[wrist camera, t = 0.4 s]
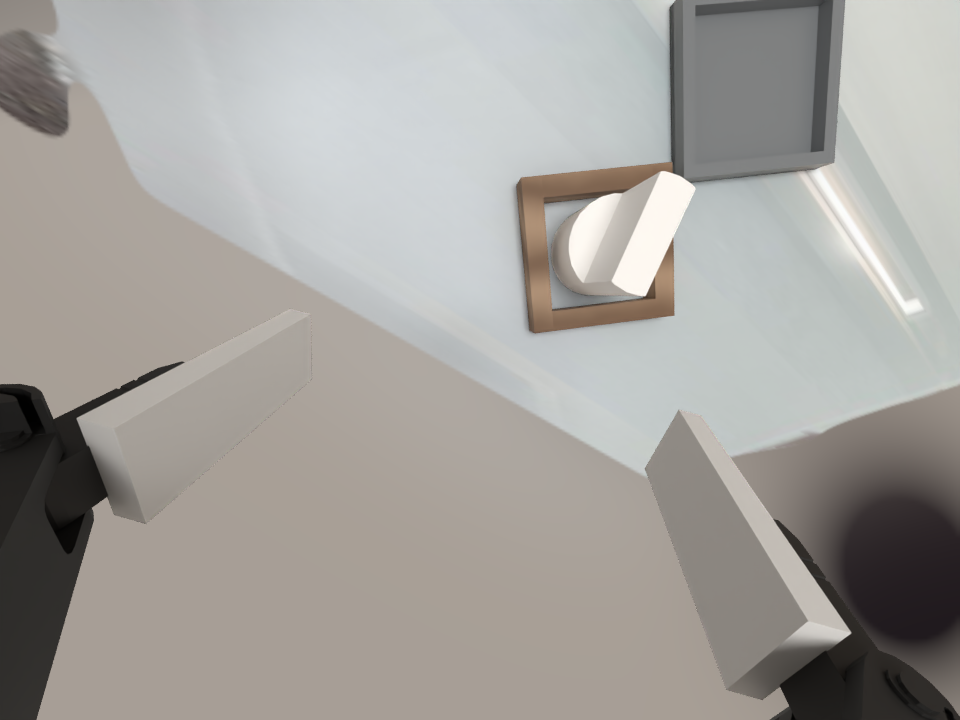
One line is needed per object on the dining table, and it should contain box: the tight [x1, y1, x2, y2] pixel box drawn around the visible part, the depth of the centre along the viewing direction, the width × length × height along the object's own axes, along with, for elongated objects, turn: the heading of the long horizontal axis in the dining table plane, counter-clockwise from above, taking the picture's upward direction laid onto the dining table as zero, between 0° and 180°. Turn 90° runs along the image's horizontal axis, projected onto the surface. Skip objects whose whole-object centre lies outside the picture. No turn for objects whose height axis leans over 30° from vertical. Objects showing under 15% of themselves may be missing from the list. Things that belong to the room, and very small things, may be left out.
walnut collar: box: [517, 162, 674, 333], centre depth 37 cm, size 15×15×2 cm
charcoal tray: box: [670, 0, 845, 183], centre depth 36 cm, size 16×16×2 cm
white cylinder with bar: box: [551, 171, 696, 296], centre depth 33 cm, size 9×9×12 cm
